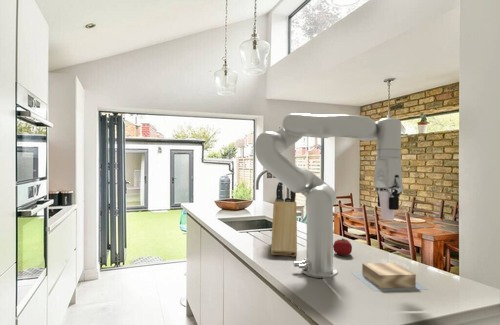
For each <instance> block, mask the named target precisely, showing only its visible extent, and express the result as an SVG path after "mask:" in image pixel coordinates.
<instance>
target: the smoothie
mask: <svg viewBox="0 0 500 325" xmlns="http://www.w3.org/2000/svg"><path fill="white" fill-rule="evenodd" d="M393 192H394V190H393ZM378 194H379V199H380V207H379V208H380V216H381V220H383V221H394V220H395V215H396V210H390V209H389V197H390V193H389V189H386V190H384V189H383V190H379V191H378Z"/></svg>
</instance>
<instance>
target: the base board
mask: <svg viewBox="0 0 500 325" xmlns="http://www.w3.org/2000/svg"><path fill="white" fill-rule="evenodd" d="M351 274H352V275H354V276H355V277H356V278H357V279H358V280H360V281H361V282H362V283H363V284H364V285H366V286H367V287H369V288H370V289H371V290H372V291H374V292H386V291H387V292H388V291H418V290H419V291H420V290H421V291H422V290H425V291H426V290H428V287H425V286H424V285H422V284H420V283H418V282H417V281H416V287H400V288H379V287H378V286H377V285H375V284H374V283H373V282H371V281H370V280H369V279H367V278H366V277H365V276H363V275H362V272H352V273H351Z"/></svg>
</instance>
